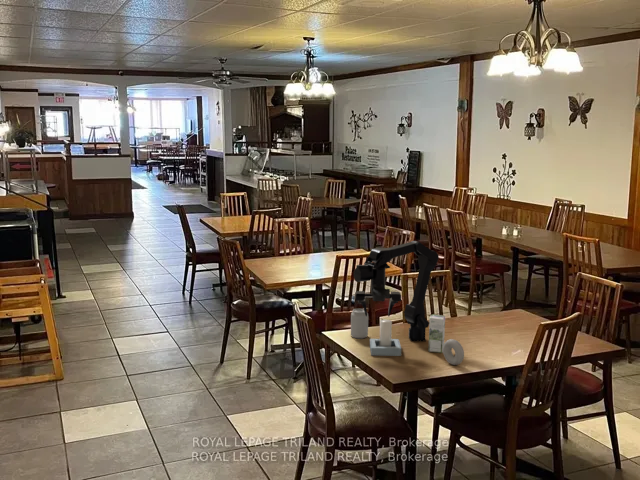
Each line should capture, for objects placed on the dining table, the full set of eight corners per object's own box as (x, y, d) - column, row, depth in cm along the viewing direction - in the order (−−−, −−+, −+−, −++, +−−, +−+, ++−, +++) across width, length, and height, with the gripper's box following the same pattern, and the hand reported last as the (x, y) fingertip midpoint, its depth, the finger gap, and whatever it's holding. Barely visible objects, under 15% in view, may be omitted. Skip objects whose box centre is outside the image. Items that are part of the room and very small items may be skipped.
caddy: (398, 345, 265) (398, 339, 265) (401, 355, 253) (401, 348, 253) (369, 345, 266) (369, 338, 265) (371, 355, 254) (371, 348, 253)
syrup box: (444, 349, 262) (445, 314, 259) (442, 353, 256) (443, 318, 254) (430, 347, 264) (431, 313, 261) (428, 351, 258) (429, 317, 256)
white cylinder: (392, 348, 261) (393, 320, 259) (389, 352, 256) (389, 323, 254) (381, 346, 263) (382, 318, 261) (377, 350, 258) (378, 322, 256)
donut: (440, 361, 247) (441, 336, 246) (447, 359, 249) (447, 335, 247) (459, 369, 239) (460, 343, 237) (465, 367, 241) (466, 342, 239)
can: (368, 334, 281) (368, 308, 279) (367, 339, 274) (368, 312, 272) (351, 333, 282) (351, 307, 280) (350, 339, 274) (350, 312, 272)
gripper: (355, 283, 252) (355, 321, 255) (403, 284, 252) (402, 322, 254) (355, 277, 263) (354, 314, 266) (400, 278, 263) (399, 314, 265)
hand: (377, 316), depth 262 cm, fingers open, 9 cm apart
